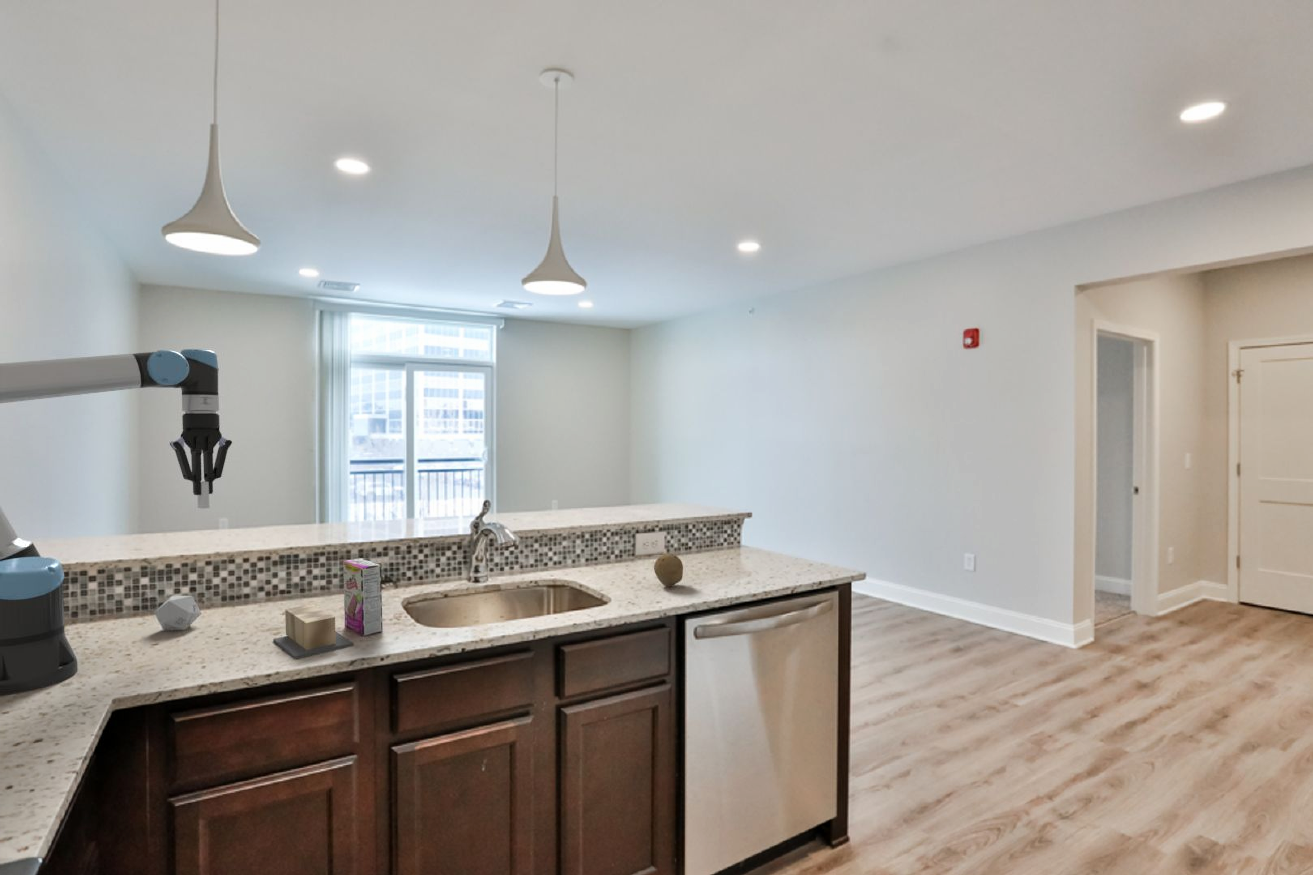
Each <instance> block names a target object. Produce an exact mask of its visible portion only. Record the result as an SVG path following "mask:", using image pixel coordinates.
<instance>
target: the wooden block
mask: <svg viewBox="0 0 1313 875" xmlns="http://www.w3.org/2000/svg"><path fill="white" fill-rule="evenodd" d="M284 610H285V613H284V615H285V616H284V617H285V618H284V619H285V636H288V637H290V638H291V639H292V640H294V641H295V642H296V643H298V644H299V645H300V646H302V647H303V648H304V649H306V650H310V649H314V648H318V647H323V646H327V645H331V644H336V637H335V631H336V616H334V615H332V614H330V613H328V612H327V611H326V610H324V609H322V608H320V607H318V606H317V605H315V604H313V603H312V604H307V605H300V606H295V607H291V608H290V607H289V608H285V609H284Z"/></svg>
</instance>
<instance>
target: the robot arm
mask: <svg viewBox="0 0 1313 875" xmlns="http://www.w3.org/2000/svg"><path fill="white" fill-rule="evenodd" d="M218 361H219V360H218V355H217V354H216V352H215V351H213V350H210V349H209V350H208V349H199V348H197V349H193V348H191V349H190V348H187V349H182V350H181V351H180V353H179V352H177V351H173V350H170V349H169V350H168V349H163V350H162V349H161V350H157V351H152V352H151V351H149V352H137V353H124V354H123V353H121V354H111V355H109V354H108V355H95V356H85V357H83V356H82V357H80V356H79V357H71V358H70V357H69V358H58V359H57V358H56V359H44V360H42V359H41V360H31V361H30V360H29V361H28V360H27V361H18V362H4V363H3V362H1V363H0V404H7V403H15V402H24V401H25V402H26V401H33V400H44V399H52V398H61V397H71V396H79V395H80V396H81V395H89V394H96V393H97V394H98V393H105V392H106V393H107V392H114V391H115V392H116V391H124V390H132V389H133V390H134V389H142V388H143V389H144V388H145V389H146V388H156V389H157V388H161V389H162V388H165V389H166V388H167V389H169V388H173V389H180V390H181V410H182V411H183V412H184V413H183V414H182V416H181V417H182V432H181V434H180V438H178V439H175V440H174V441H170V442H169V446H170V447H171V448H172V450H174V452H175V456H176V458H177V461H178V465H179V468H180V472H181V475H182V478H183V480H187V481H190V482H192V494H193V495H194V496H197V508H198V509H202V510H203V509H210V495H213V493H214V482H215V480H217V479H220V478H221V477H222V475H223V471H224V467H225V462H226V458H227V453H228V450H229V448H230V447H231V446H232V444H233V441H232V440H231V439H227V438H225V437H223V436H222V432H220V431H221V430H220V415H219V413H217V412H219V411H220V402H219V401H220V400H219V398H220V396H219V370H220V369H219V365H218V364H219V362H218ZM217 444H218V449H217V451H216V452H217V453H216V457H215V461H214V456H213V455H214V453H215V452H214V448H215V447H216V446H217ZM185 445H186V446H187V447H188V448H189V450H190V452H189V453H190V454H191V457H190V458H191V460H190V461H191V465H190V463H189V460H188V459H189V458H188V456H187V452H186V450H185V449H184V447H185ZM202 455H203V456H202ZM202 457H203V458H202ZM202 459H203V460H202ZM202 461H203V464H202ZM202 465H203V476H202ZM202 478H203V479H204V480H203V481H202ZM64 579H65V572H64V570H63V565H62V563H61V562H60V561H59V560H58V559H56V558H52V557H44V556H41V554H40V552H39V551H38V549H37V547H36V546H35V544H34V543H33V541H32V540H29V539H24V538H20V537H19V536H18V534H17V533H16V531H15V529H14V528H13V526H12V523H10V520H9V519H8V516H7V515H6V514H5V511H3V509H2V507H1V506H0V696H1V695H10V694H17V693H22V692H27V691H32V690H36V689H41V688H43V687H46V686H50V685H53V684H56V683H59V682H61V681H63V680H66V679H68V678H70V677H72V676H74V675H75V674H77V672H78V669H79V668H78V658H77V656H76V655H75V652H74V650H73V648H72V646H71V644H70V643H69V640H68V638H67V637H66V634H65V633H66V632H65V630H66V629H65V609H64V608H65V605H64V604H65V603H64V602H65V601H64V599H65V598H64Z"/></svg>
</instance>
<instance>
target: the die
mask: <svg viewBox="0 0 1313 875" xmlns="http://www.w3.org/2000/svg"><path fill="white" fill-rule="evenodd" d="M153 614H154V615H155V618H156V619H157V621H158V623H159V624H160V626H161V628H162V630H163V631H166V632H167V631H169V632H170V631H186V630H187V629H188V628H189V627H190V626H191V625H192V624H193V623H194V622H195V621H196V620H197V619H198V618H199V617H200V616H201V615H202V611H201V610H200V608H199V606H198V604H197V602H196V600H195V598H194V596H193V595H172V596H171V595H170V597H169V598H168V599H167V600H166V601H165V602H164V603H163V604H161V605H160V606H159V607H158V608H157V609H156V610H155V611H154V612H153Z"/></svg>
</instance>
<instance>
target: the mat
mask: <svg viewBox="0 0 1313 875" xmlns="http://www.w3.org/2000/svg"><path fill="white" fill-rule="evenodd" d="M335 637H336V644H331V645H327V646H323V647H318V648H314V649H310V650H306V649H304V648H303V647H302V646H300V645H299V644H298V643H296V642H295V641H294V640H292V639H291V638H290V637H288V636H287V635H285V636H280V637H276V638H273V639H272V640H273V642H274V643H275V645H277V646H278V647H280V648H281V649H282V650H283V651H284V652H286V653H287V654H288V655H290V656H291V657H292V658H293V659H294V660H298V659H301V658H305V657H309V655H311V656H313V655H318V654H322V653H326V652H331V651H335V650H339V649H343V648H348V647H352V646H354V645H355V643H354V641H352V640H350V639H349V638H347V637H346V636H344V635H342V634H341V633H339V632H338V631H336V630H335Z"/></svg>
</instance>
